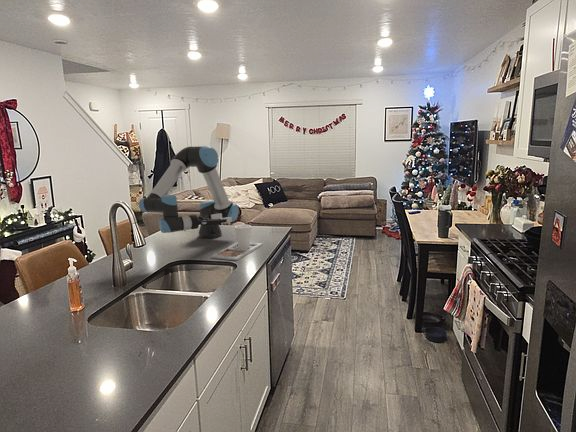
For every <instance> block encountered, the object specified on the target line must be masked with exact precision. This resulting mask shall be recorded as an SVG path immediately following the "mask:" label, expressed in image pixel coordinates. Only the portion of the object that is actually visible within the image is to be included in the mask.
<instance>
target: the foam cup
mask: <svg viewBox="0 0 576 432" xmlns="http://www.w3.org/2000/svg"><path fill="white" fill-rule="evenodd" d="M234 232H235V236H236V243H237V242H238V249H247V250H249V249H250V246H251V245H250V242H251V233H252V225H250V224H238V225H237V224H236V225H235V226H234Z"/></svg>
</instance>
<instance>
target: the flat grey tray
mask: <svg viewBox="0 0 576 432" xmlns="http://www.w3.org/2000/svg"><path fill="white" fill-rule="evenodd" d="M237 245H238V242H237V241H236V242H235V243H233V244H231V245H230V246H227V247H226V248H223V249H221V250H220V251H218V252H216V253H214V254H212V255H210V258H211V259H216V260H217V259H218V260H229V261H239V260H241V259H242V258H244V257H246V256H247V255H249V254H251V253H253V251H255V250H257V249H259V248H260V247H262V246H263V243H262V242H261V243H260V242H252V241H250V246H252V247H251V248H248V249H239V248H236V247H237ZM254 245H255V246H254Z"/></svg>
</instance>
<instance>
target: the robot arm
mask: <svg viewBox="0 0 576 432" xmlns="http://www.w3.org/2000/svg"><path fill="white" fill-rule="evenodd" d="M218 163H219V155H218V152H217V150H216V149H215V148H214V147H213V146H208V145H203V146H187V147H184V148H182V149H180V151H179V152H178V151H177V153H176V154H175V155H174V157H172V159H171V161H170V165H169V166H168V168H167V169H166V170H165V172H164V173H163V175H162V176H161V178H159V180H158V182H157V183H156V185H154V187H153V189H151V192H149V194H148V196H147V197H142V198H140V199H139V201H138V208H139V209H140V211H141V212H143V213H144V212H146V213H158V214H162V218H161V219H160V218H159V220H158V226H159V227H158V228H159V231H160V232H161V233H163V234H167V233H175V232H176V233H177V232H182V231H183V232H186V231H189V230H190V231H191V230H198V229H199V230H198V237H199V238H201V239H216V238H219V237H221V236H223V233H222V229H221V226H222V224H228V223H232V222H235V221H236V220H237V218H238V217H239V212H240V209H239V205H238V204H237V203H233V200H232V199H231V198H229V197H228V195H227V193H226V190H225V188H224V185H223V183H222V180H221V177H220V174H219V173H218V170H217V167H218ZM191 167H192V168H193V167H194V168H195V167H196V170H197V171H198V173H200V174H202V176H203V178H204V181H205V183H206V185H207V188H208V189H209V192H210V194H211V197H212V199H213V200H207V201H203V202H200V203H199V216H197V215H196V214H191V215H182V216H179V211H178V208H179V207H178V201H177V196H176V194H169V192H170V190H171V189H172V188H173V186H174V185H175V184H176V182H177V180H178V179H179V177H180V176H181V174H183V173H184V172H186V170H187V169H188V168H191ZM199 226H200V227H199Z"/></svg>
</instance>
